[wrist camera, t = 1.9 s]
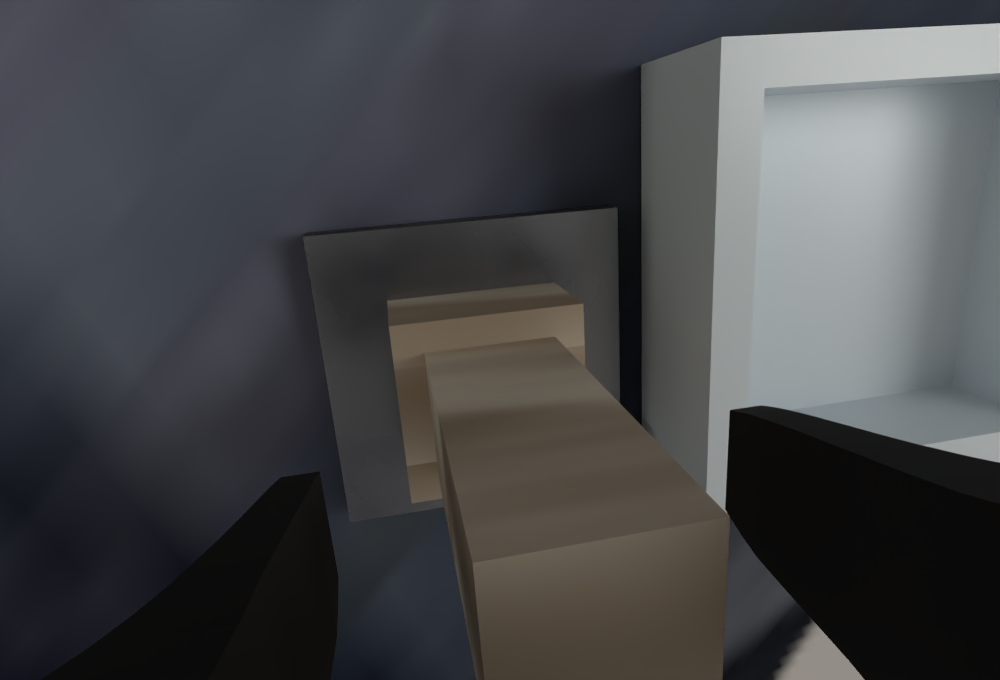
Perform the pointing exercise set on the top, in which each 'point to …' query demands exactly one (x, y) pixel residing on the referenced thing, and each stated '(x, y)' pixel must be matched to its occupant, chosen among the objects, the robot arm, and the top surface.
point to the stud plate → (437, 271)
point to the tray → (822, 238)
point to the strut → (554, 496)
